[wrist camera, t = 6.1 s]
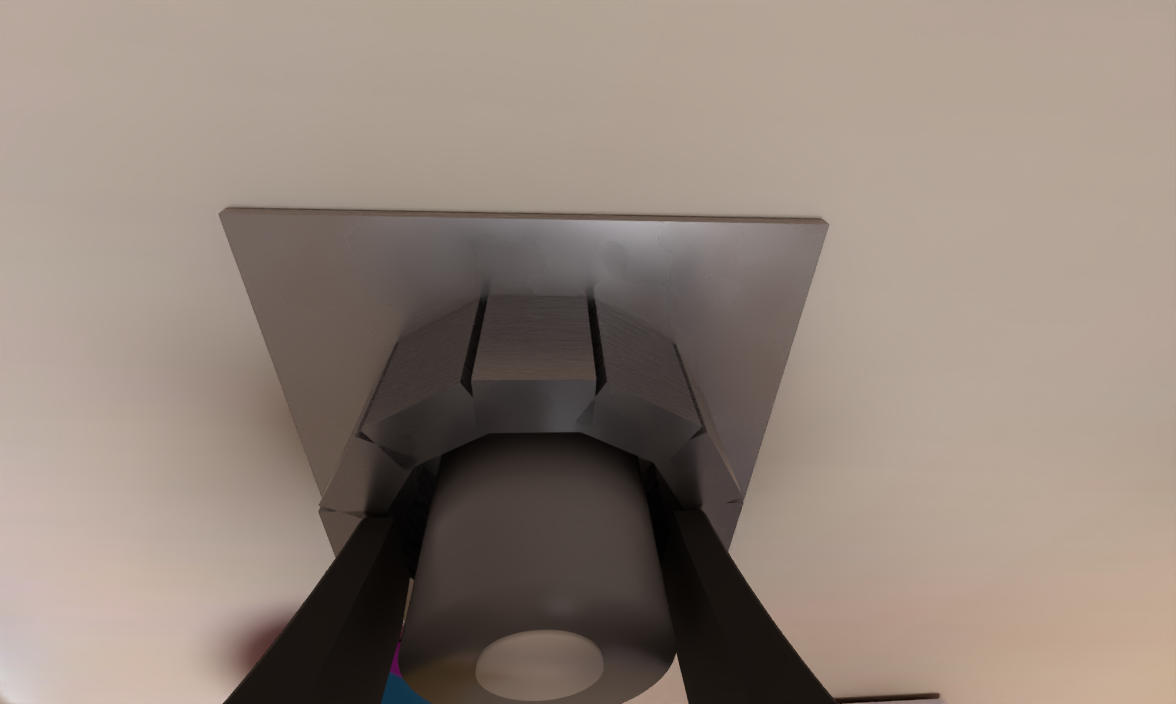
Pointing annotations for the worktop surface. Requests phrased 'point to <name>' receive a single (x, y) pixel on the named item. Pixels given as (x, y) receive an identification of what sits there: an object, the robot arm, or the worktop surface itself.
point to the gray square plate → (524, 345)
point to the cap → (537, 577)
